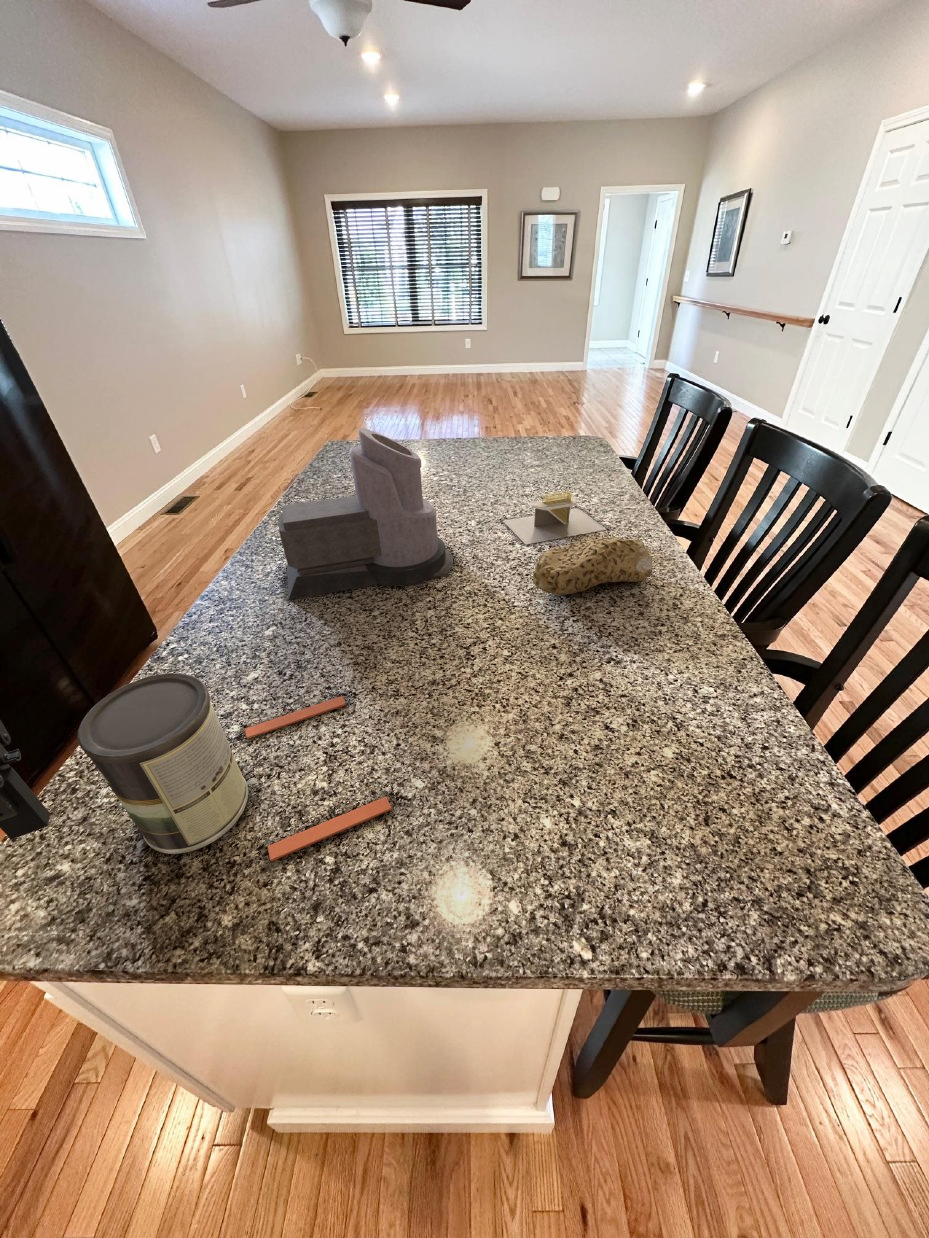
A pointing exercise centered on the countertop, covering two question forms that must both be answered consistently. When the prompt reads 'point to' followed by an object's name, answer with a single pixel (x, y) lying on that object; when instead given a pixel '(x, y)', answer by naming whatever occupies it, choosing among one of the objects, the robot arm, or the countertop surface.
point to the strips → (329, 826)
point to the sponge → (591, 565)
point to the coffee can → (167, 761)
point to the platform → (553, 520)
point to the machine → (365, 527)
